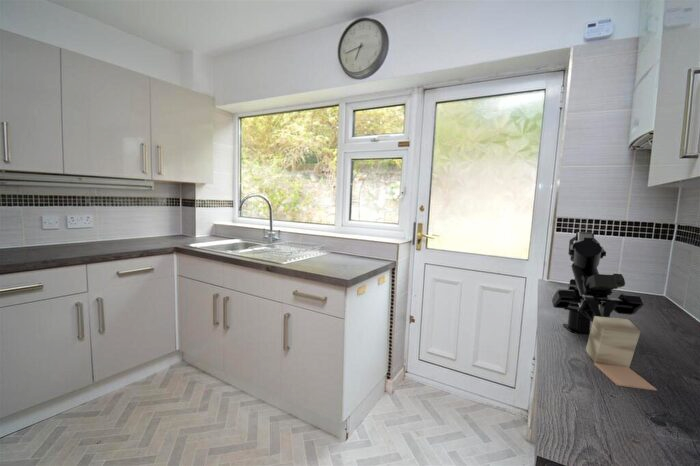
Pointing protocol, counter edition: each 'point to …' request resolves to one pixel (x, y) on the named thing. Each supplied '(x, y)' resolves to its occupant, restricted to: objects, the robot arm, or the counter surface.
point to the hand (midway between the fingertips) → (605, 331)
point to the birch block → (612, 341)
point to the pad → (624, 376)
